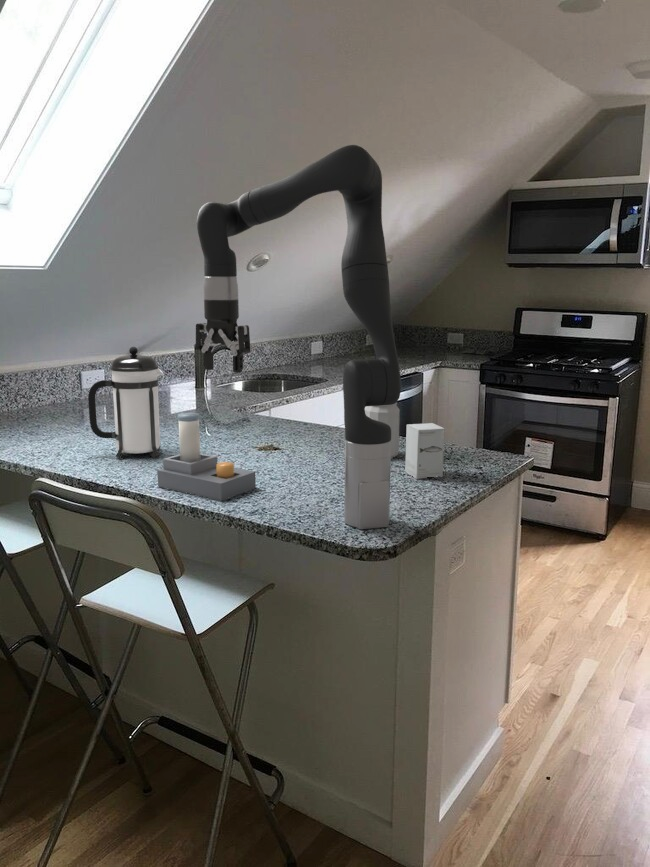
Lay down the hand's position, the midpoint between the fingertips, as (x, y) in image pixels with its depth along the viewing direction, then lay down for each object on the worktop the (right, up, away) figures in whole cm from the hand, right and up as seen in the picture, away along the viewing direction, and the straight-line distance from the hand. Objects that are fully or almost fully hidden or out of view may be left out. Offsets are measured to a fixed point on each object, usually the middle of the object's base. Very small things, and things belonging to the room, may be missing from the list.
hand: (223, 371), depth 166 cm
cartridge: (-9, -22, +11) cm, 26 cm away
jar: (+38, -20, +39) cm, 58 cm away
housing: (-5, -27, +9) cm, 29 cm away
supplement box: (+48, -25, +20) cm, 57 cm away
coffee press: (-30, -20, +40) cm, 54 cm away
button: (0, -25, +5) cm, 26 cm away
